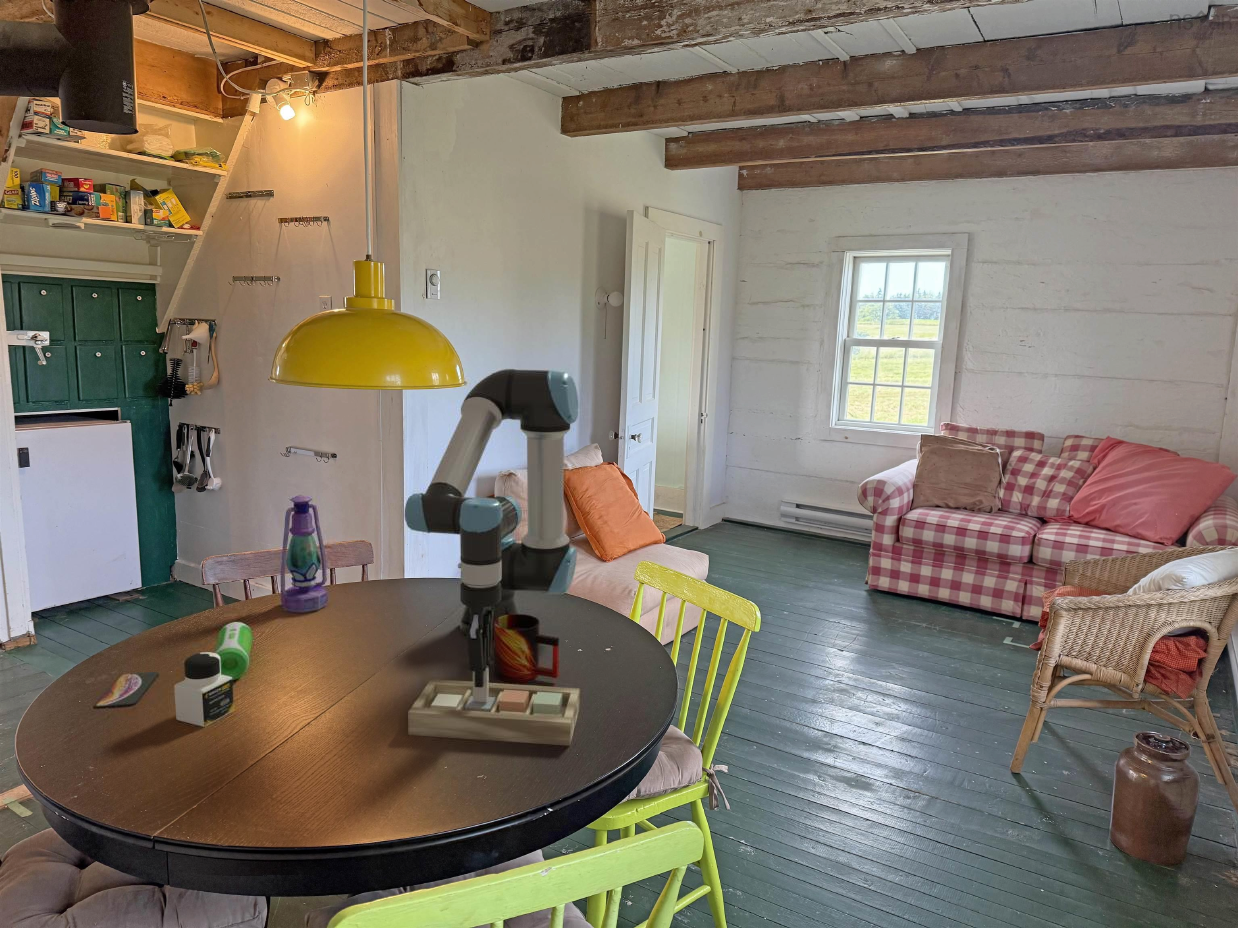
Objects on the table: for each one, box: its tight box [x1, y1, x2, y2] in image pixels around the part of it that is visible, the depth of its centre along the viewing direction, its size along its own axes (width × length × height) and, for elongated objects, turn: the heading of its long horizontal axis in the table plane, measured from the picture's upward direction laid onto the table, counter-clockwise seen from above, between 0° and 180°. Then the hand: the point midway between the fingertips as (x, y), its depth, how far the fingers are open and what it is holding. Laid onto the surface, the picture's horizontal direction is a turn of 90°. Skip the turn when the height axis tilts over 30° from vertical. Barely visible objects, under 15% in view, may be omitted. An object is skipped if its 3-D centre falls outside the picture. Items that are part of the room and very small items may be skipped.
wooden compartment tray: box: [407, 678, 581, 747], centre depth 155 cm, size 14×30×4 cm, turn 86°
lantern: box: [280, 494, 329, 614], centre depth 210 cm, size 13×12×30 cm
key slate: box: [465, 696, 496, 712], centre depth 155 cm, size 5×5×2 cm
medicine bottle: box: [174, 651, 235, 728], centre depth 153 cm, size 7×7×12 cm
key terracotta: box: [499, 690, 529, 713], centre depth 154 cm, size 5×5×2 cm
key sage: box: [533, 692, 562, 715], centre depth 154 cm, size 5×5×2 cm
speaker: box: [213, 621, 254, 681], centre depth 176 cm, size 18×7×8 cm, turn 21°
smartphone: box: [93, 671, 160, 709], centre depth 163 cm, size 8×1×15 cm
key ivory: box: [431, 694, 463, 710], centre depth 156 cm, size 5×5×2 cm
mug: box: [493, 613, 560, 685], centre depth 176 cm, size 10×14×12 cm
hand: (480, 699), depth 155 cm, fingers closed
